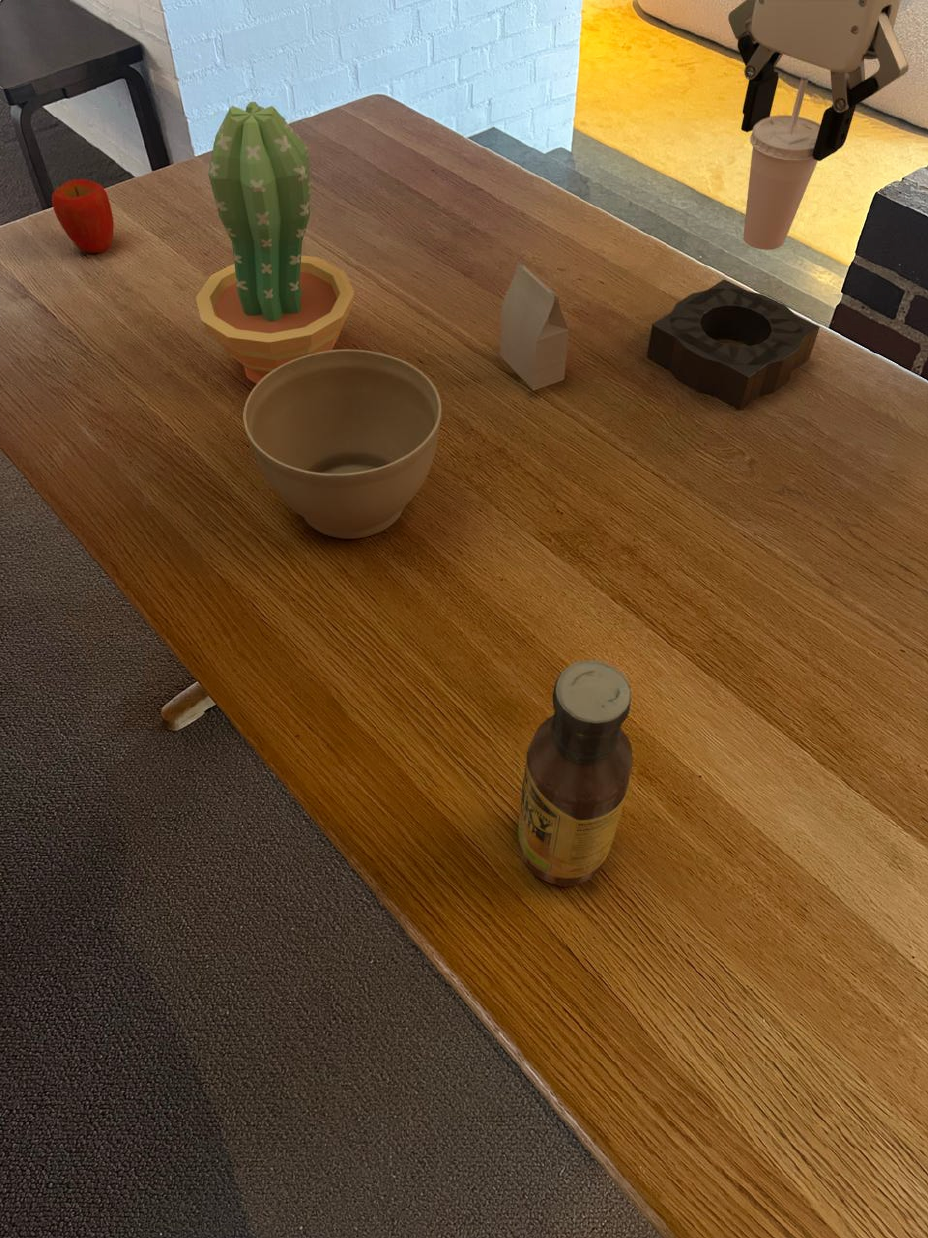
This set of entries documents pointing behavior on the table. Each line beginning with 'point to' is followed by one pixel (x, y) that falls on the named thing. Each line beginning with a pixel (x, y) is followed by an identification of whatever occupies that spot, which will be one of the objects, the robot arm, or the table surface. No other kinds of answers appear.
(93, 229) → the apple
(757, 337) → the holder plate
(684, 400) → the table surface
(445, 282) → the table surface
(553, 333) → the gable top carton
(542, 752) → the sauce bottle
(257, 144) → the potted cactus
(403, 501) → the planter bowl
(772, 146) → the smoothie
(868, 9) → the robot arm
